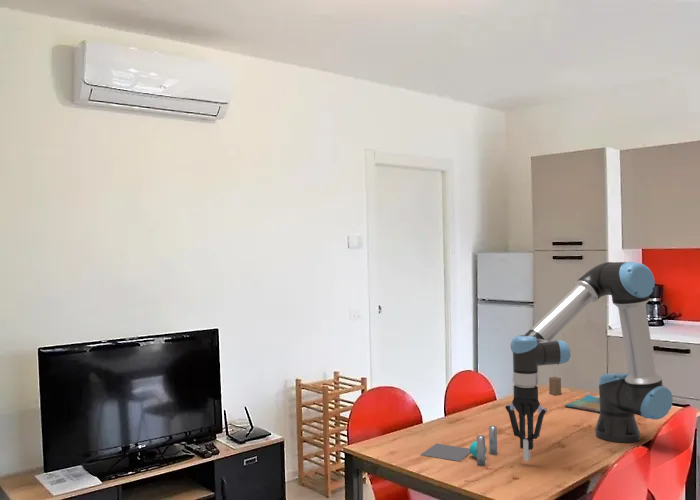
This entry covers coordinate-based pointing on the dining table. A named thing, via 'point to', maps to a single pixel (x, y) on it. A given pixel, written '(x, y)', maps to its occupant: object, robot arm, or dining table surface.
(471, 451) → the ball
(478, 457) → the post
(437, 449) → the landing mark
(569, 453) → the dining table surface
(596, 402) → the dish towel
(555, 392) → the wooden block
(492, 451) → the post
